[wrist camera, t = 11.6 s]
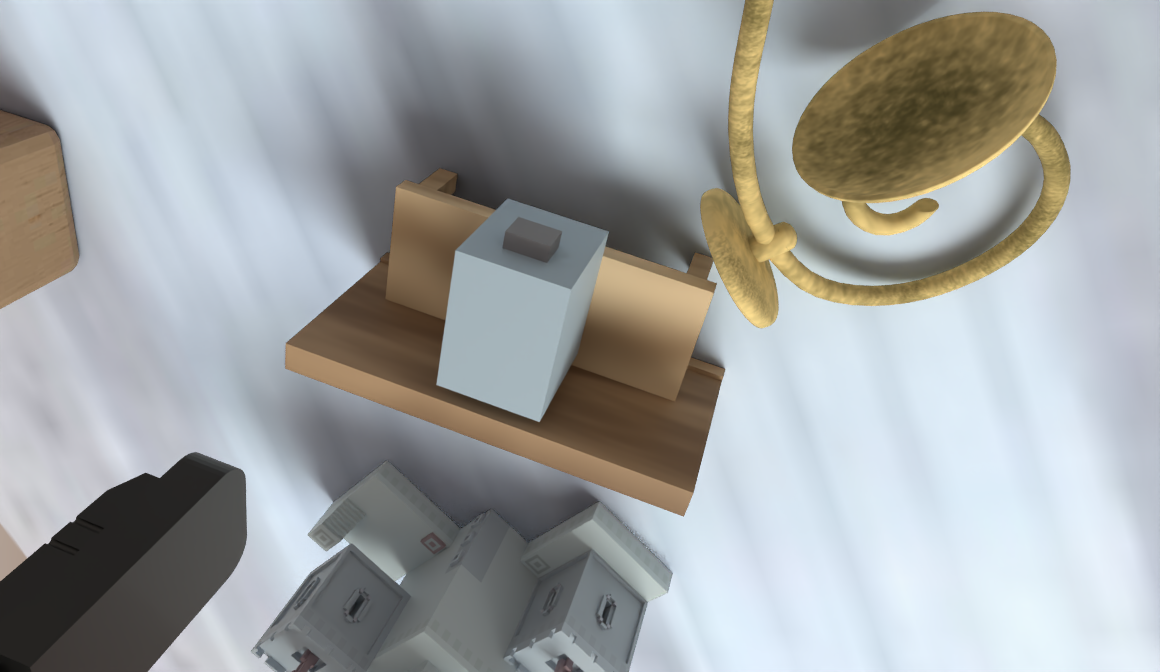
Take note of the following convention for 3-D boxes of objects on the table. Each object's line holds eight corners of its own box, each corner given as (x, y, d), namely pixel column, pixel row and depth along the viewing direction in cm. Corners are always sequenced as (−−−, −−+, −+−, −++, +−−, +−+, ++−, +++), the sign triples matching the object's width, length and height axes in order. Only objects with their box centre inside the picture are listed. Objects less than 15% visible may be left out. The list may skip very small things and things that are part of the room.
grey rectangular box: (510, 182, 38) (457, 233, 33) (612, 216, 37) (575, 272, 32) (486, 321, 42) (436, 384, 37) (577, 353, 41) (539, 422, 36)
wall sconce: (811, 422, 38) (456, -21, 23) (787, 278, 44) (495, -144, 29) (1152, 314, 32) (968, -392, 17) (1067, 164, 38) (878, -448, 23)
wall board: (396, 149, 43) (287, 220, 35) (764, 270, 40) (740, 377, 32) (380, 324, 49) (284, 419, 41) (698, 437, 47) (664, 564, 38)
